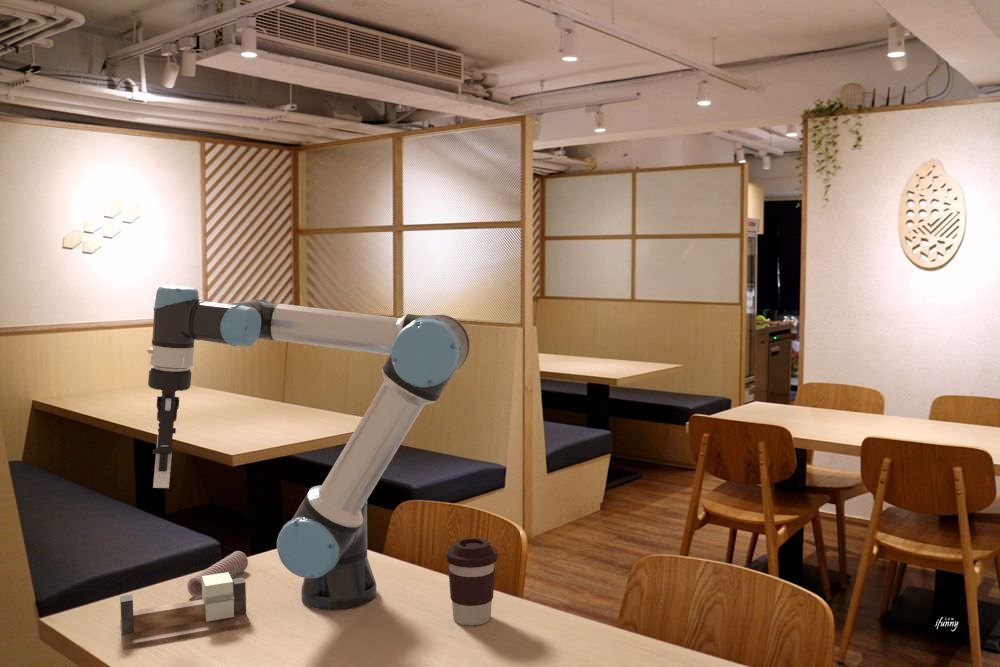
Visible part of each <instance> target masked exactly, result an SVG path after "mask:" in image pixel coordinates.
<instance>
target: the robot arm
mask: <svg viewBox="0 0 1000 667" xmlns="http://www.w3.org/2000/svg"><path fill="white" fill-rule="evenodd" d="M152 325H153V326H152V338H151V348H148V349H147V350H146V352H147V353H148V355H149V354H151V355H150V359H149V360H150V362H149V363H150V365H151V367H150V368H149V370H148V380H147V381H148V383H147V385H148V387H149V388H150V389H152V390H157V391H158V390H159V391H161V395H157V396H156V397H157V398H156V408H157V413H156V420H157V422H158V425H157V426H158V429H157V432H158V433H157V438H156V448H152V452H151V453H152V454H155V458H154V459H155V460H154V462H155V463H154V474H153V485H152V488H153V489H155V488H156V489H169V488H170V478H171V469H172V468H171V467H172V454H173V435H174V434H176V432H177V431H176V430H177V428H176V427H175V426H174V425H175V422H176V421H177V415H178V410H179V408H180V407H179V405H180V396H176V392H178V391H180V392H184V391H187V390H189V389H190V388H191V385H192V372H193V371H192V370H191V368H192V367H193V364H194V363H193V362H194V354H195V353H194V351H195V340H196V341H205V342H210V343H216V344H217V343H218V344H223V345H230V346H232V347H237V346H238V347H239V346H240V347H251V346H253V345H254V344H255V343H256V342H257V341H258V340H266V341H277V342H278V341H279V342H285V343H293V344H300V345H309V346H315V347H316V346H317V347H325V348H332V349H337V350H338V349H339V350H345V351H346V350H348V351H354V352H361V353H369V354H377V355H386V356H388V358H387V360H386V361H385V363H384V365H383V366H382V368H381V373H382V378H383V383H382V384H381V386H380V387H379V389H378V391H377V392H376V394H375V396H374V397H373V399H372V401H371V403H370V405H369V406H368V408H367V409H366V411H365V413H364V414H363V416H362V418H361V419H360V421H359V423H358V425H356V427H355V430H354V431H353V432H352V435H351V436H350V438H349V439H348V441H347V443H346V444H345V446H344V448H343V450H341V452H340V454H339V456H338V458H337V459H336V461H335V463H334V465H333V466H332V467H331V469H330V471H329V473H328V475H327V477H326V478H325V479H324V481H323V483H322V484H321V485H320V484H319V485H314V486H312V487H311V488H309V490H308V492H307V494H306V495H305V497H304V499H303V500H302V502H301V504H300V505H299V507H298V509H297V510H296V512H295V513H294V515H293V517H292V518H291V520H288V521H287V522H285V524H284V525H283V526H282V528H281V530H280V532H279V533H278V536H277V539H276V551H277V553H278V557H279V560H280V562H281V563H282V565H283V566H284V567H285V568H286V569H287V570H288V571H289V572H291V574H294V575H295V576H297V577H299V578H304V579H303V582H302V584H301V585H302V586H301V596H300V597H301V602H302V603H303V604H304V605H305V606H307V607H310V608H312V609H315V610H322V611H343V610H350V609H355V608H358V607H362V606H365V605H366V604H368V603H370V602H372V601H373V600H374V599H375V598H376V597H377V582H376V579H375V577H374V576H375V575H374V573H373V570H372V568H371V564H370V562H369V559H368V498H369V497H370V495H371V494H372V493H373V490H374V489H375V488H376V486H377V485H378V482H379V481H380V479H381V477H382V476H383V474H384V472H385V471H386V469H387V468H388V466H389V465H390V463H391V461H392V460H393V458H394V456H395V454H396V453H397V451H398V449H399V448H400V446H401V444H402V443H403V442H404V440H405V438H406V437H407V435H408V433H409V431H410V430H411V428H412V426H413V425H414V423H415V422H416V420H417V418H418V417H419V415H420V413H421V412H422V410H423V408H424V407H425V406H426V405H431V404H434V403H436V402H437V401H438V400H439V398H440V397H441V394H442V393H443V391H444V390H445V388H446V387H447V385H448V383H449V382H450V380H451V379H452V377H453V375H454V373H455V372H456V371H458V370H459V369H460V368H461V367H462V366H463V365H464V363H465V362H466V361H467V358H468V356H469V353H470V349H471V344H470V343H471V341H470V340H471V339H470V337H469V334H468V331H467V329H466V328H465V327H464V325H463V324H462V323H461V322H460V321H458V320H457V319H456V318H454V317H452V316H449V315H445V314H431V315H430V314H429V315H428V314H427V315H426V314H425V315H424V314H410V313H405V315H403V316H402V317H394V316H393V317H392V316H385V315H377V314H370V313H368V314H367V313H362V312H361V313H360V312H353V311H352V312H351V311H343V310H335V309H329V308H328V309H326V308H320V307H319V308H318V307H311V306H303V305H295V304H286V303H275V302H270V301H269V300H265V299H255V298H254V299H250V300H245V301H237V302H227V303H226V302H225V303H224V302H218V301H215V302H214V301H208V300H203V299H200V295H199V290H198V289H196V288H195V287H191V286H184V285H170V284H168V285H167V284H166V285H161V286H159V287H158V288H157V290H156V295H155V300H154V307H153V324H152Z"/></svg>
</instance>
